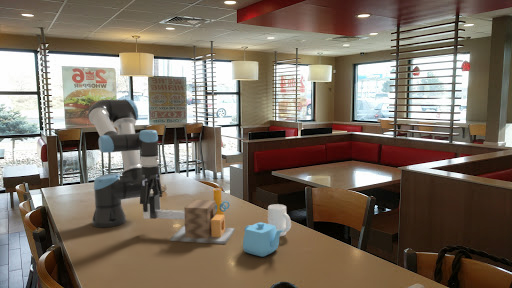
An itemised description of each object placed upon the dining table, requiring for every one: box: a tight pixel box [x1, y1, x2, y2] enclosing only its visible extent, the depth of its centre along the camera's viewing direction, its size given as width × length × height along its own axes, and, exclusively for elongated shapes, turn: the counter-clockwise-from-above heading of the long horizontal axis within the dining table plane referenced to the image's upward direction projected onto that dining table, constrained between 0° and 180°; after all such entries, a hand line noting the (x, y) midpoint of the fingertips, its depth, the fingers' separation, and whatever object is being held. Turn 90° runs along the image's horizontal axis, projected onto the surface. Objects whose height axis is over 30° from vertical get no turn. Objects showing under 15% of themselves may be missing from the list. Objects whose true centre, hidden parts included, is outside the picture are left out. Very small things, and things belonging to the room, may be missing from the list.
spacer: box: [211, 214, 226, 237], centre depth 163 cm, size 4×7×7 cm, turn 170°
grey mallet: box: [148, 192, 185, 220], centre depth 165 cm, size 26×5×10 cm, turn 80°
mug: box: [267, 203, 292, 237], centre depth 164 cm, size 8×12×12 cm
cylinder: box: [210, 187, 230, 215], centre depth 186 cm, size 12×10×15 cm
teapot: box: [242, 221, 284, 258], centre depth 145 cm, size 12×18×12 cm
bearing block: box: [169, 199, 235, 245], centre depth 164 cm, size 24×16×14 cm, turn 80°
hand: (152, 214), depth 168 cm, fingers open, 10 cm apart
